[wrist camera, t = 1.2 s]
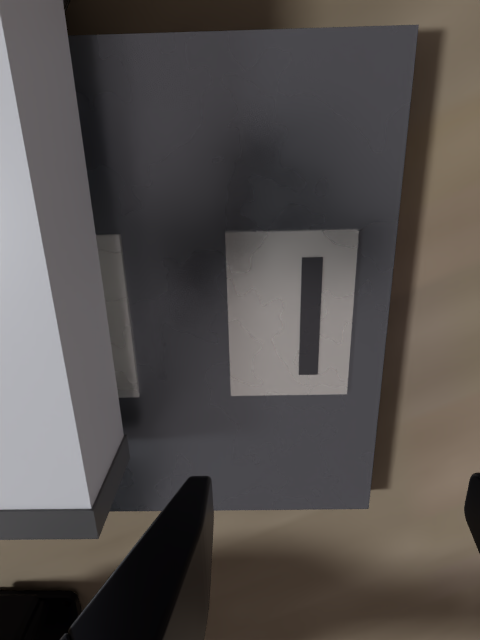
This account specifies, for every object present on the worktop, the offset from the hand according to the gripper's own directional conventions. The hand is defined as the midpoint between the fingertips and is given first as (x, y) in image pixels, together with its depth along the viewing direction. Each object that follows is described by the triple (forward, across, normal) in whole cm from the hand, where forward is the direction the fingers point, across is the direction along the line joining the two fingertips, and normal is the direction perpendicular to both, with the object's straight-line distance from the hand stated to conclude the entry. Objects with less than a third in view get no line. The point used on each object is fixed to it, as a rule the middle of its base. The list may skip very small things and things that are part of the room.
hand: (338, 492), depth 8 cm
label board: (+11, +4, -2) cm, 12 cm away
